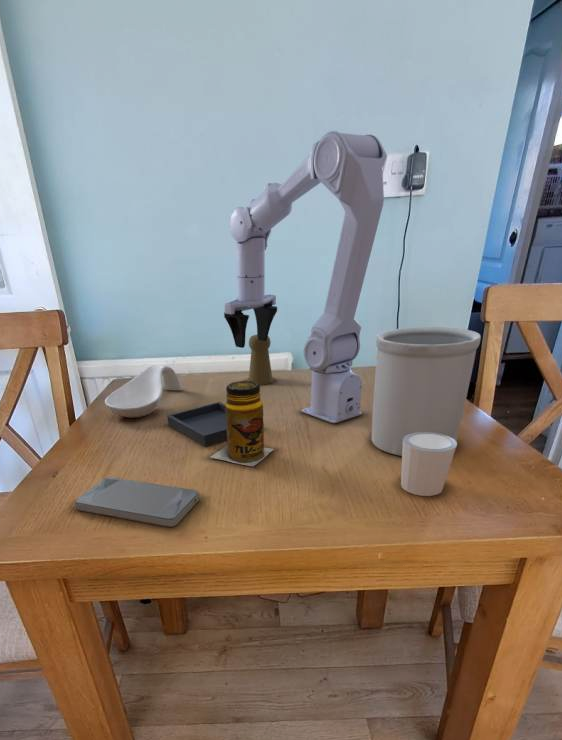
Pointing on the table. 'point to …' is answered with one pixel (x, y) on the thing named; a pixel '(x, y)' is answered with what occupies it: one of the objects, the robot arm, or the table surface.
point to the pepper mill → (260, 361)
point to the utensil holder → (421, 383)
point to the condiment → (244, 425)
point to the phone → (138, 501)
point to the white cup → (426, 462)
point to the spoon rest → (142, 392)
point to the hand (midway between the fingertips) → (251, 343)
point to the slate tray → (202, 423)
